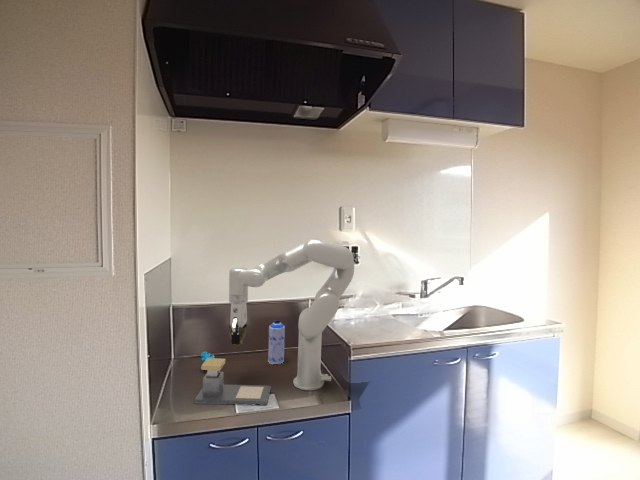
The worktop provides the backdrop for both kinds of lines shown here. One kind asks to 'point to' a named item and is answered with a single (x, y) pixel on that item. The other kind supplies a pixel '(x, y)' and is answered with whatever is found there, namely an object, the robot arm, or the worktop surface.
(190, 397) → the worktop surface
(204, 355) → the gear
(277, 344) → the aerosol can
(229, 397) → the base
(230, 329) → the dark brown rounded piece
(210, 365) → the plate
